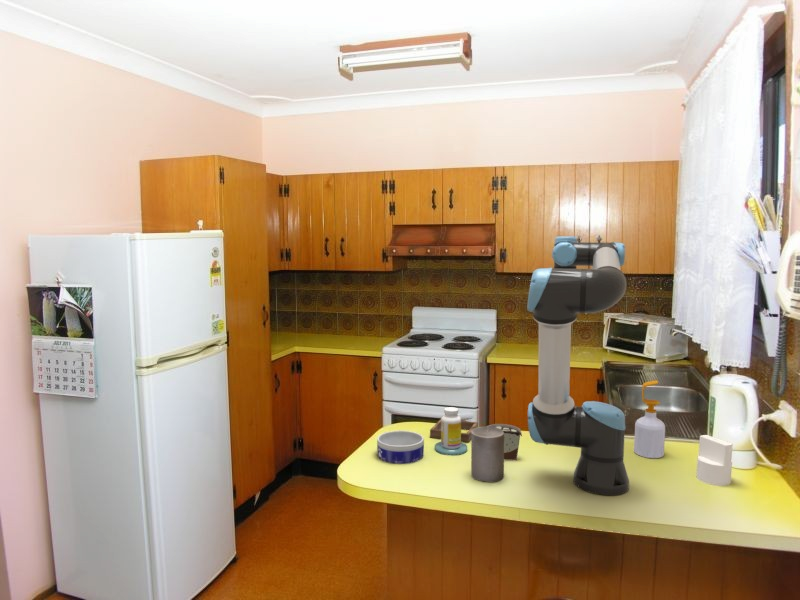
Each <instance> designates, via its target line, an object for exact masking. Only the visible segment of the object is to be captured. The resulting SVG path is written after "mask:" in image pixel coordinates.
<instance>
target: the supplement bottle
mask: <svg viewBox="0 0 800 600" xmlns="http://www.w3.org/2000/svg"><path fill="white" fill-rule="evenodd" d="M443 409H444V410H443V413H444V415H443V416H442V417H441V418H440V419H441V439H440V442H441V445H442V447H444V448H447V449H457V448H459V447H460V446H461V433H462V429H461V421H462V417H461V416H459V415H458V414H459V408H457V407H453V406H451V407H450V406H449V407H444V408H443Z"/></svg>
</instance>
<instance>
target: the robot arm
mask: <svg viewBox="0 0 800 600" xmlns="http://www.w3.org/2000/svg"><path fill="white" fill-rule="evenodd" d="M553 246H554V247H553V249H552V251H551V257H552V260H553V262H554V263H553V267H546V268H543V267H542V268H537V269H535V270H534V271H533V272H532V275H531V279H530V284H529V290H528V298H527V306H526V310H527V311H528V312H530V313H532V318H533V320H534V321H535V322H536V323H537V324H538V374H537V375H538V381H537V382H538V386H537V388H538V390H537V391H538V394H537V395H536V396H534V397H533V399H532V402H530V403H529V404H528V405H527V408H528V409H527V427H528V433H529V437H530V439H531V440H532V441H533V442H535V443H538V444H544V445H546V446H547V445H553V446H561V447H563V446H564V447H570V448H571V447H573V448H580V456H579V459H578V462H577V464H576V467H575V469H574V471H573V478H572V479H573V480H572V481H573V484H574V485H575V486H576V487H577V488H579V489H581V490H583V491H586V492H588V493H591V494H596V495H601V496H618V495H623V494H626V493H627V492H628V491H629V489H630V488H629V487H630V479H629V476H628V473H627V469H626V466H625V461H624V456H625V455H624V453H625V452H624V451H625V430H626V428H627V427H626V415H625V413H624V411H622V409H620V408H618V407H617V406H615V405H612V404H610V403H605V402H601V401H595V400H591V401H589V400H588V401H584V402H583V403H582V405H581V406H577V405H575V401H574V399H573V398H572V396H570V386H571V385H570V381H571V380H570V379H571V347H572V346H571V345H572V344H571V343H572V342H571V341H572V338H571V337H572V324H573V323H574V322H576V321H577V319H578V314H595V313H600V312H603V311H606V310H607V309H611V307H613V306H615V304H617V303H618V302H620V300H621V299H622V298H623V297H624V295H625V293H626V291H627V286H628V285H627V279H626V276H625V274H624V273H623V272H622V270H621V267H623V266H624V265H625V260H626V259H625V258H626V246H625V244H624V243H622V242H614V241H612V242H581V241H580V242H579V241H578V238H577V237H576V236H568V235H567V236H563V235H562V236H559V235H558V236H556V237H554V244H553ZM577 266H579V267H585V266H586V267H588V266H589V267H592V268H577Z"/></svg>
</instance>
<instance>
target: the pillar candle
mask: <svg viewBox="0 0 800 600" xmlns="http://www.w3.org/2000/svg"><path fill="white" fill-rule="evenodd" d="M488 426H489V425H487V426H478V427H477V428H474V429H473V430H472V432H471V440H470V441H471V443H470V444H471V445H470V446H471V452H470V453H471V455H470V456H471V457H470V459H471V461H470V463H471V464H470V472H471V473H470V475H471V477H472V478H473V479H474V480H476V481H480V482H481V481H482V482H484V483H495V482H499V481H501V480H503V478H504V477H505V460H504V432H503V430H501V429H499V428H496V427H488Z"/></svg>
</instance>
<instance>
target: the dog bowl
mask: <svg viewBox="0 0 800 600" xmlns="http://www.w3.org/2000/svg"><path fill="white" fill-rule="evenodd" d="M424 438H425V437H424V436H423V435H422V434H421V433H418V432H415V431H410V430H390V431H386V432H383V433H380V434H379V435H378V436H377V438H376V442H377V443H376V446H377V447H376V449H377V452H376V453H377V458H378V459H380V460H381V461H382V462H384V463H388V464H395V465H407V464H413V463H416V462H419V461H421V460H422V459H423V457H424V453H425V449H424V448H425V446H424V445H425V439H424Z"/></svg>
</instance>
